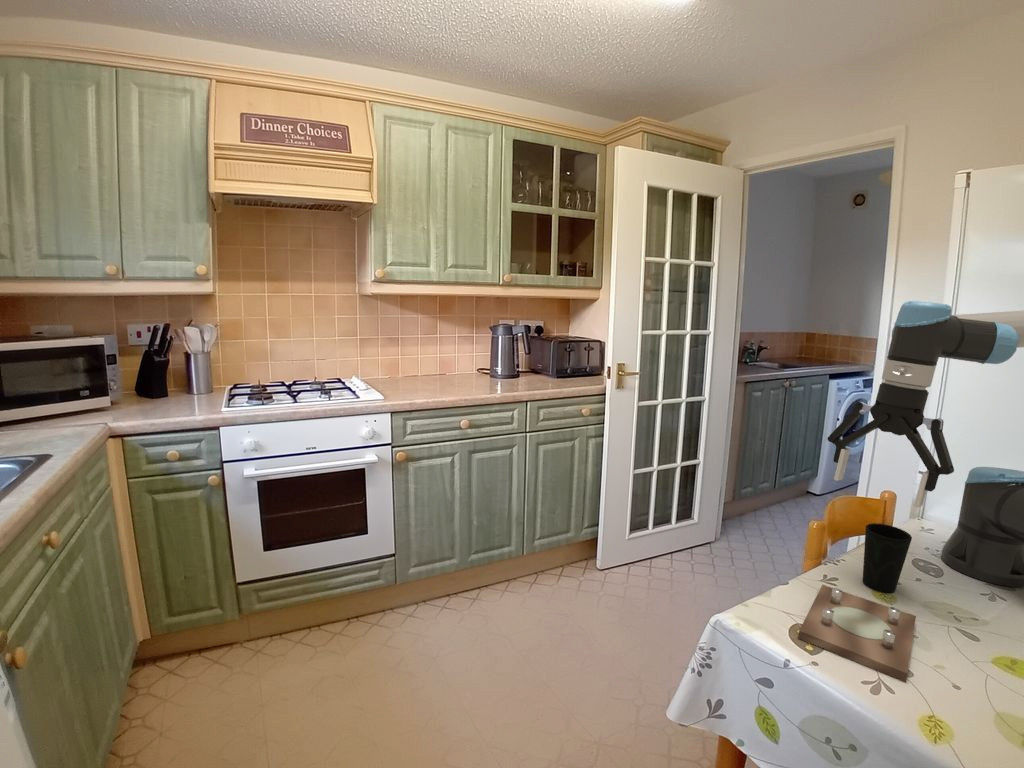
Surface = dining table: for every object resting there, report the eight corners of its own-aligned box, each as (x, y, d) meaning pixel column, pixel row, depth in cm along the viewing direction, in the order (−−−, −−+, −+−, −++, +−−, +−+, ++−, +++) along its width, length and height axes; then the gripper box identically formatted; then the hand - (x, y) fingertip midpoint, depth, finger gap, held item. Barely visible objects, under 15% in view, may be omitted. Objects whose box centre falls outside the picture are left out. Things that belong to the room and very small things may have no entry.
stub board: (914, 623, 96) (918, 603, 96) (905, 682, 81) (910, 658, 81) (821, 591, 106) (824, 572, 105) (798, 638, 91) (801, 617, 90)
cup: (909, 599, 104) (920, 542, 102) (866, 593, 106) (876, 537, 104) (890, 578, 112) (899, 525, 110) (850, 573, 113) (859, 521, 111)
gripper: (825, 371, 106) (801, 471, 110) (986, 402, 87) (951, 522, 91) (840, 371, 111) (816, 467, 114) (996, 400, 92) (962, 514, 95)
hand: (876, 492), depth 103 cm, fingers open, 13 cm apart
